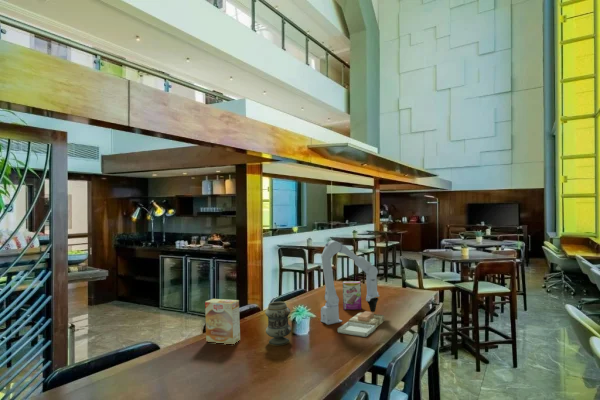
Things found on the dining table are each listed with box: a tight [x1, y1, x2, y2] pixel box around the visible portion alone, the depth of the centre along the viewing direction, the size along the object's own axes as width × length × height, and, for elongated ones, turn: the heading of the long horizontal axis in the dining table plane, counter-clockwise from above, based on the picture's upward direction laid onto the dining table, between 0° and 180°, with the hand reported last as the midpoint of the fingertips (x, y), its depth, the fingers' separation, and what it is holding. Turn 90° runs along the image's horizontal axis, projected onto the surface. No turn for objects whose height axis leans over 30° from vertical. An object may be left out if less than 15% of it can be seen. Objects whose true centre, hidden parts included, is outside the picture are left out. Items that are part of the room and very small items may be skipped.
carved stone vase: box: [264, 301, 292, 347], centre depth 173 cm, size 12×12×18 cm
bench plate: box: [348, 311, 385, 329], centre depth 196 cm, size 15×14×3 cm
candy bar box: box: [342, 280, 362, 311], centre depth 226 cm, size 11×5×16 cm, turn 84°
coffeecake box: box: [204, 298, 241, 345], centre depth 177 cm, size 15×7×20 cm, turn 70°
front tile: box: [358, 314, 370, 321], centre depth 193 cm, size 5×5×2 cm
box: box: [337, 321, 376, 338], centre depth 184 cm, size 13×15×2 cm
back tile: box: [361, 310, 375, 318], centre depth 198 cm, size 5×5×2 cm
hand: (372, 311), depth 204 cm, fingers closed
